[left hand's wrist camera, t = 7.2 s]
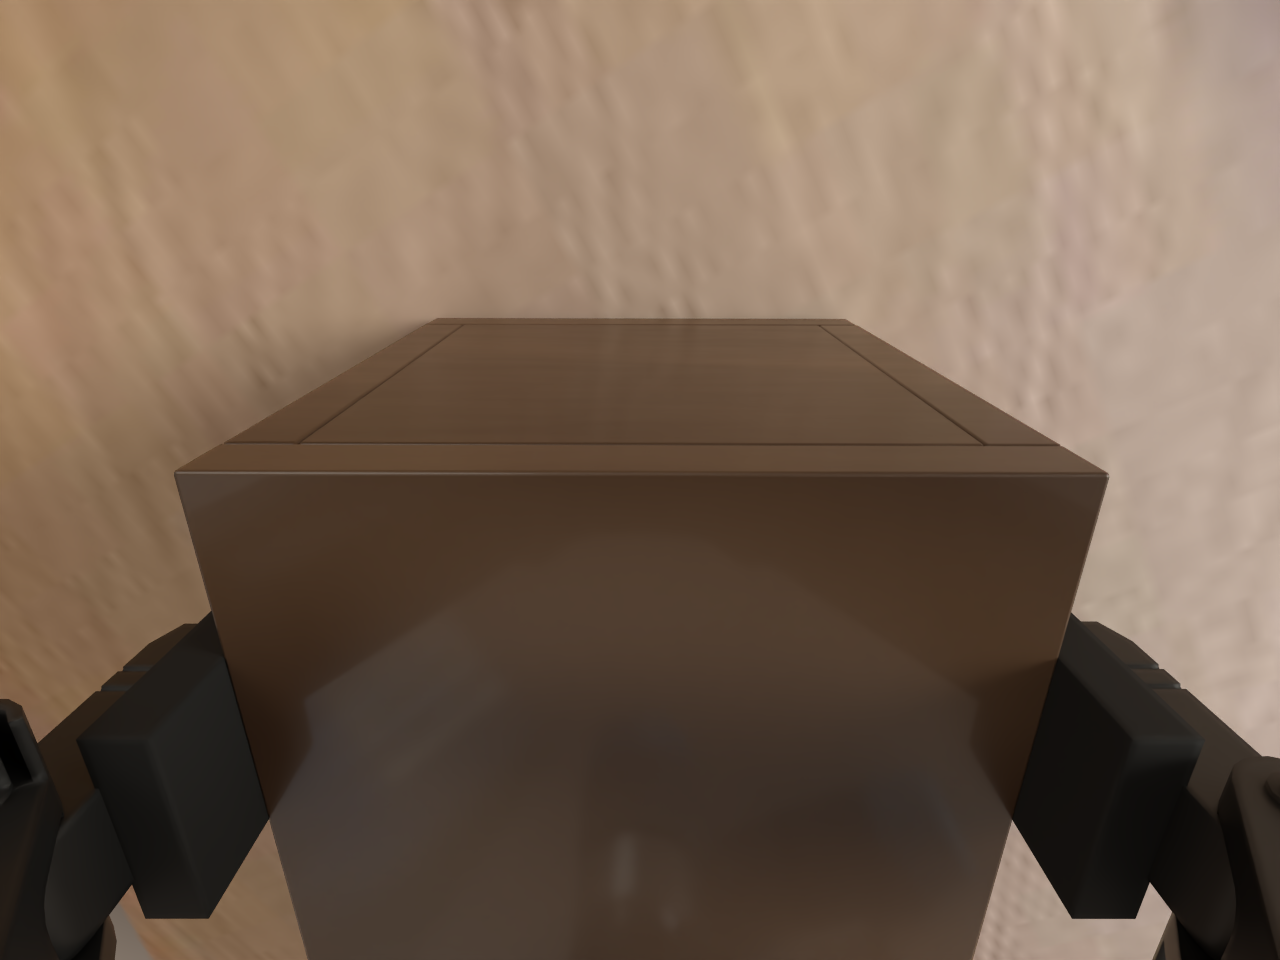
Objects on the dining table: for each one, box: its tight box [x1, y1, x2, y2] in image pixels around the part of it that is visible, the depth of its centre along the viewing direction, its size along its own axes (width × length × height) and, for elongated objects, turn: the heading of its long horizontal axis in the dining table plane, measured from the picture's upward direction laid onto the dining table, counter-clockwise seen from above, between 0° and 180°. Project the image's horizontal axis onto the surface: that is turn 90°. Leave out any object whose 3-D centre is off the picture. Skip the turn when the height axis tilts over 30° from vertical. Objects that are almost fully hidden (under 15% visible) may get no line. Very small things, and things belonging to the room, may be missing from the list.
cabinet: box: [174, 318, 1109, 960], centre depth 16 cm, size 21×10×10 cm, turn 0°
